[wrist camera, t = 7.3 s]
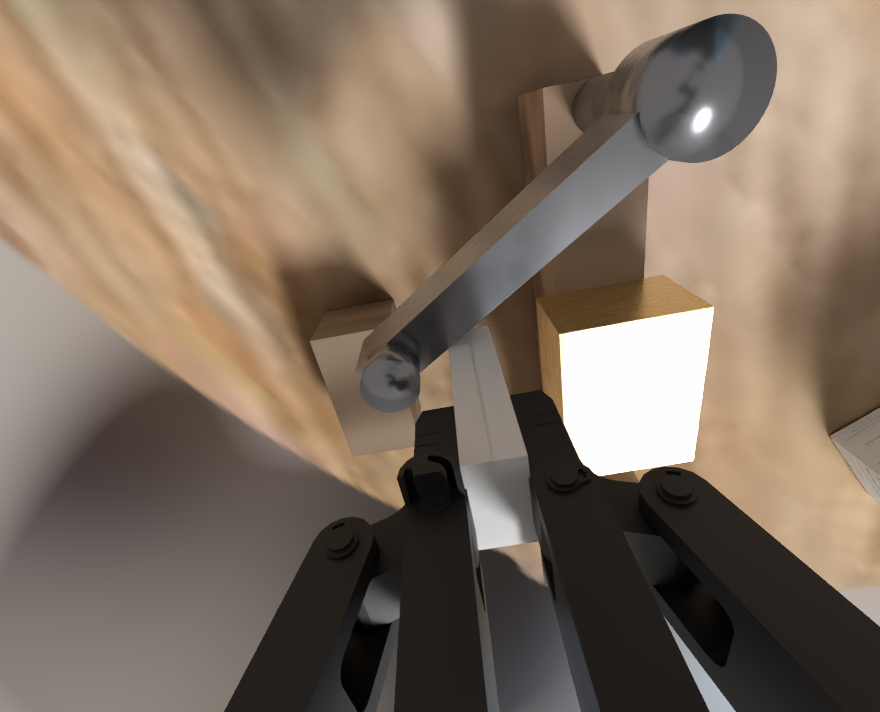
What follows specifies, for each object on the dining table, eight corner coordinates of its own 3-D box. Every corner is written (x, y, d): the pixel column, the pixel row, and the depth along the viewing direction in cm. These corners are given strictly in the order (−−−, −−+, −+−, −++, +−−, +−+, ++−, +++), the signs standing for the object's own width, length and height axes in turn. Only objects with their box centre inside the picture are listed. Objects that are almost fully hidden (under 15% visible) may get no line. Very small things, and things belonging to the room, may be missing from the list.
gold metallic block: (535, 298, 20) (559, 334, 17) (662, 274, 20) (714, 306, 16) (546, 429, 24) (567, 480, 21) (653, 411, 24) (693, 460, 20)
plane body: (517, 95, 21) (578, 76, 12) (604, 77, 20) (725, 45, 12) (545, 442, 31) (589, 556, 23) (603, 433, 31) (668, 544, 23)
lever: (675, 8, 12) (770, -36, 8) (724, 101, 13) (824, 94, 9) (348, 326, 16) (329, 378, 13) (406, 376, 17) (403, 435, 14)
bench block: (325, 311, 26) (309, 341, 22) (393, 298, 25) (388, 326, 22) (360, 417, 29) (352, 456, 26) (420, 406, 29) (420, 445, 26)
